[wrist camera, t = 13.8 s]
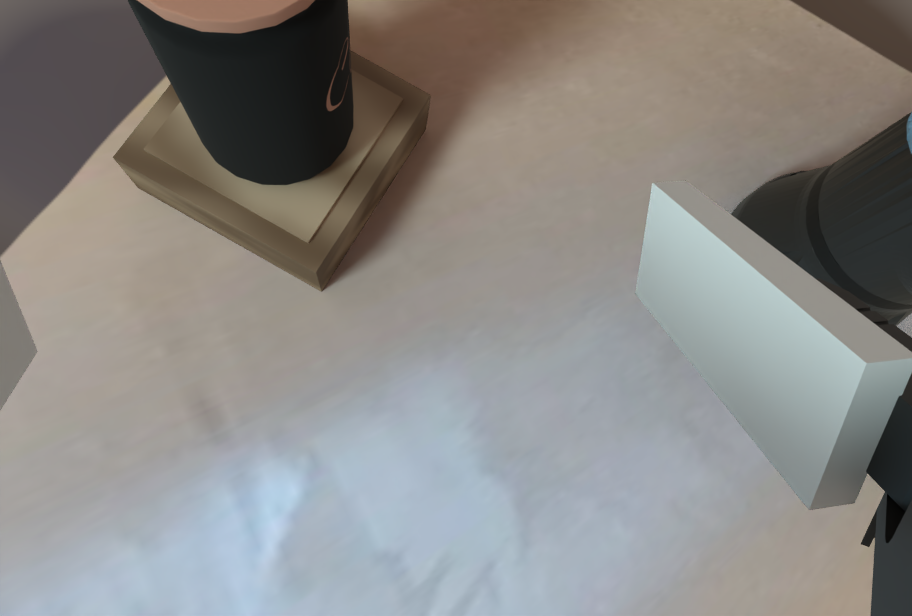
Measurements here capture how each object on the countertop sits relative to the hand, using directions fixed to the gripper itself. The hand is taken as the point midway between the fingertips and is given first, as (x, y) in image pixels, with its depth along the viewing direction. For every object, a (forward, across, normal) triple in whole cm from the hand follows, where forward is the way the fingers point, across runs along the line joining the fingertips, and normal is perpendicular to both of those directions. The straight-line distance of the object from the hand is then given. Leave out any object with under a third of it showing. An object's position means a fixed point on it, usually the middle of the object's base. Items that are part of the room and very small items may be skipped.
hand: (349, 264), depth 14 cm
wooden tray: (+40, -4, -11) cm, 41 cm away
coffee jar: (+36, -4, -7) cm, 37 cm away
